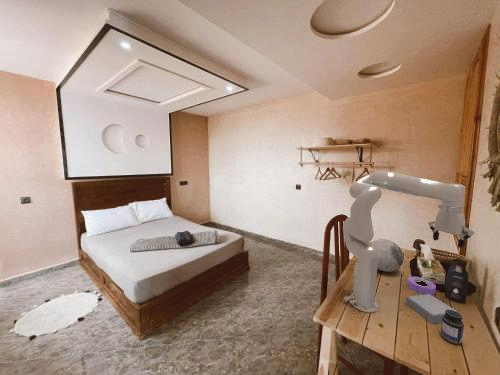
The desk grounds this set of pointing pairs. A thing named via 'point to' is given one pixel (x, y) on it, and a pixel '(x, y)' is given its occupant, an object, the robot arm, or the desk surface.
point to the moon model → (389, 255)
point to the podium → (428, 307)
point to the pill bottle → (452, 327)
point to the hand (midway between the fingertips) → (447, 243)
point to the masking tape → (419, 288)
